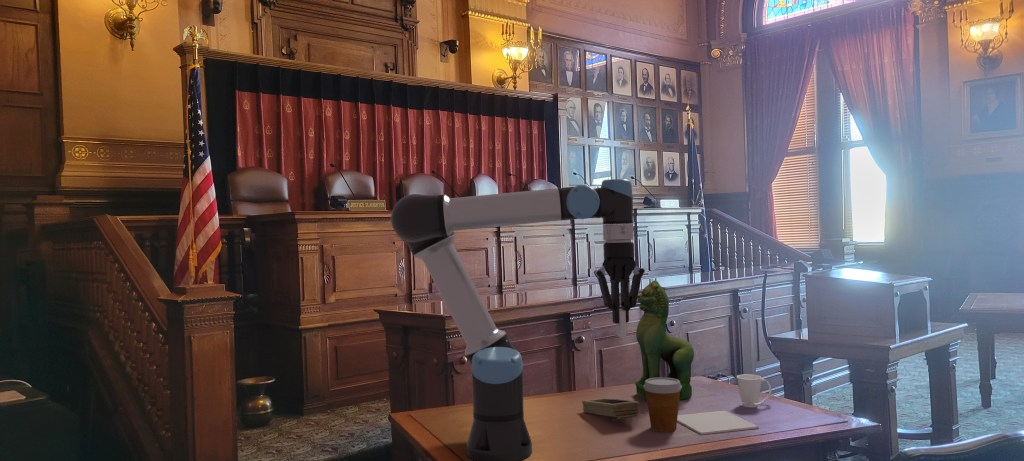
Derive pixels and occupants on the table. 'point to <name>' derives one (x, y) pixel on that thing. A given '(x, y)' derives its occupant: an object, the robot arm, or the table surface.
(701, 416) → the felt mat
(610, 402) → the box
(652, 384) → the disposable coffee cup
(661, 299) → the lion statue
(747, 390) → the cup
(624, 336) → the robot arm
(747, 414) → the table surface
